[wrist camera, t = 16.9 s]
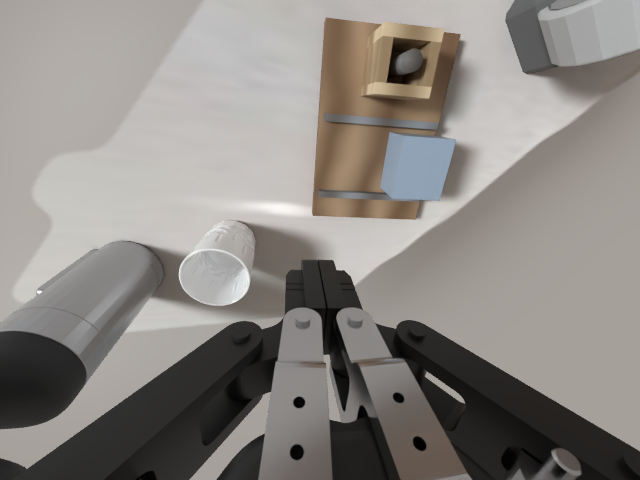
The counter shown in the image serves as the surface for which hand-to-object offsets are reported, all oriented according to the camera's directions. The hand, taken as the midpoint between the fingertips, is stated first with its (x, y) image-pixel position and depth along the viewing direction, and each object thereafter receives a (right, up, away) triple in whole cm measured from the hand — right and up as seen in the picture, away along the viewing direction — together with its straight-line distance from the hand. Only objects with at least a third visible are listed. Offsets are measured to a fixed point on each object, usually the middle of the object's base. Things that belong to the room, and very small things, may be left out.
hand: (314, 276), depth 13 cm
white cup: (-13, +2, +27) cm, 30 cm away
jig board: (+7, +16, +22) cm, 28 cm away
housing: (+12, +12, +22) cm, 28 cm away
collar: (+8, +21, +18) cm, 29 cm away
